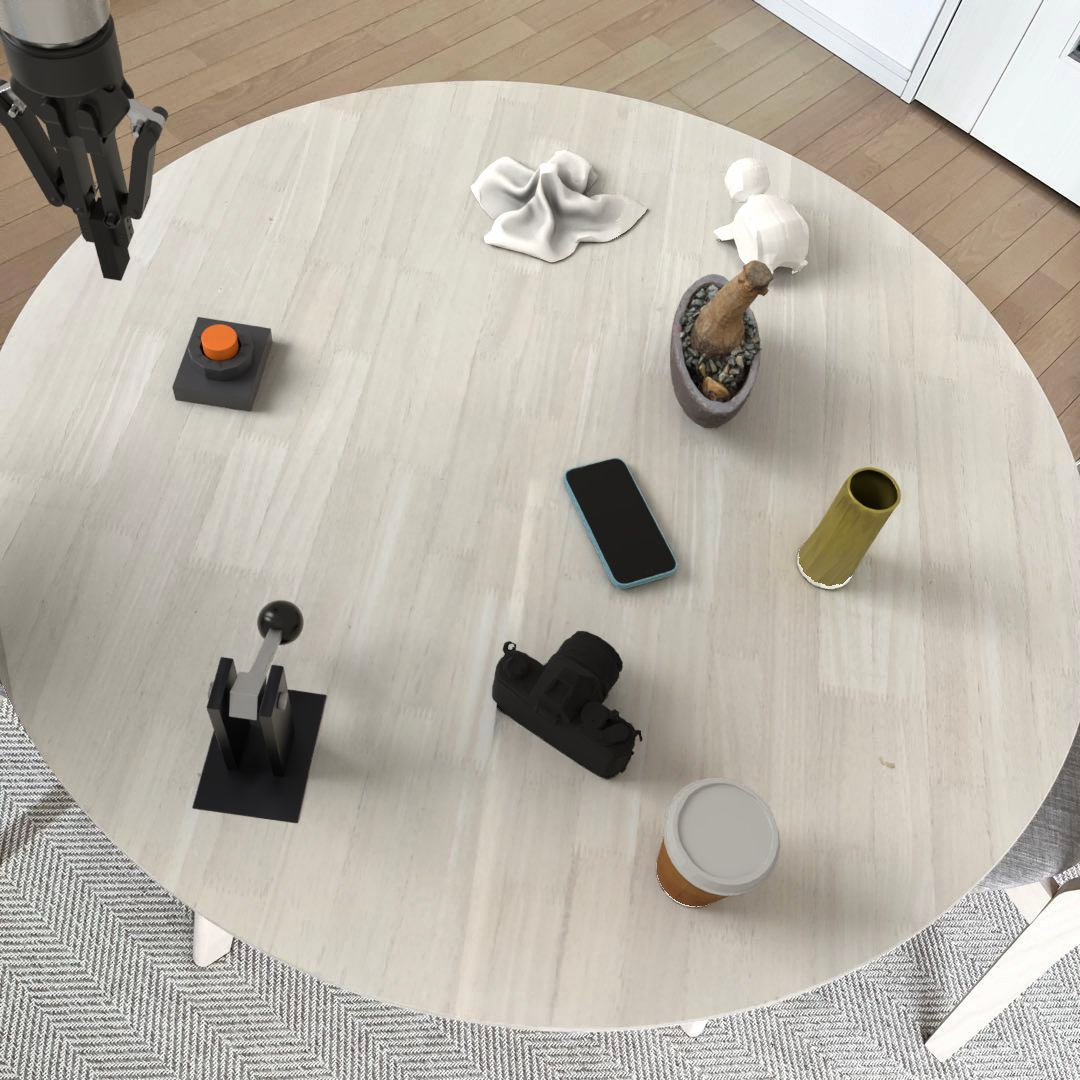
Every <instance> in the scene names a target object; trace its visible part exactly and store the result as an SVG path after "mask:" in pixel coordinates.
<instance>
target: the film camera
mask: <svg viewBox="0 0 1080 1080" xmlns="http://www.w3.org/2000/svg"><path fill="white" fill-rule="evenodd" d="M510 645H513V646H512V647H511V649H510V648H509V646H510ZM502 652H503V656H502V657H501V658H500V659H499V660H498V662H497V664H496V666H495V672H494V679H493V682H492V686H491V687H492V688H491V698H492V700H493V701H494V702H495V703H496V709H498V711H500V712H501V713H502V714H504V715H506V716H508V717H509V718H510V719H512V720H513V721H514V722H516V723H517V724H519V725H520V726H522V727H523V728H525V729H526V730H527V731H529V732H531V733H532V734H533V735H535V736H536V737H537V738H539V739H541V740H542V741H543V742H544V743H546V744H548V745H549V746H551V747H553V748H554V749H555V750H557V751H558V752H560V753H561V754H563V755H564V756H565V757H567V758H569V759H570V760H572V761H573V762H574V763H576V764H578V765H579V766H581V767H582V768H584V769H586V770H587V771H589V772H590V773H592V774H594V775H595V774H596V775H595V776H597V777H599V778H601V779H603V780H609V779H613V778H615V777H616V776H618V775H619V774H622V773H624V772H625V771H626V769H627V767H628V765H629V764H630V762H631V760H632V757H633V756H634V754H635V751H634V749H635V747H636V740H637V739H636V738H637V737H638V739H639V742H643V740H644V738H643V734H642V730H641V729H635V727H634V725H633V724H632V723H631V722H629V721H627V720H626V719H625V718H623V717H622V716H620V712H619V711H618V710H617V709H615V708H613V709H610V708H608V707H607V706H605V705H604V704H603V703H604V702H605V701H606V700H607V698H608V697H609V693H610V691H611V690H612V689H613V687H614V686H615V685H616V683H617V682H618V681H619V679H620V673H621V672H622V671H623V668H624V662H623V660H622V658H621V655H620V654H619V653H618V652H617V650H616V648H615V647H613V646H612V645H611V644H610V643H608V641H606V640H605V639H603V638H601V637H600V636H598V635H596V634H594V633H591V632H589V631H586V630H576V631H575V633H572V635H571V636H570V637H568V638H566V639H565V640H564V641H563V642H562V644H561V645H560V646H559V648H558V649H557V650H556V652H555V653H554V654H552V655H551V657H550V658H549V659H548V661H547V662H546V663H544V664H542V663H541V662H540V661H538V660H537V659H535V658H533V657H532V656H530V655H529V654H528V653H526V652H523V651H520V650H517V643H515V642H513V641H511V640H508V641H505V642H504V643H503V646H502Z"/></svg>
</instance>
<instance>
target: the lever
mask: <svg viewBox="0 0 1080 1080" xmlns="http://www.w3.org/2000/svg"><path fill="white" fill-rule="evenodd" d="M304 625H305V619H304V615H303V613H302V611H301V609H300V608H299V606H297V605H296V604H295V603H294V602H292V601H289V600H286V599H276V600H273V601H270V602H268V603H266V604H265V605H264V606H263V607H262V609H261V610H260V611H259V613H258V616H257V620H256V626H257V631H258V633H259V635H260V637H261V638H262V639H263V641H262V644H261V647H260V648H259V651H258V653H257V655H256V657H255V659H254V662H253V664H252V666H251V668H250V671H249V672H244V671H239V672H238V673H237V675H238V676H237V678H236V680H235V682H234V684H233V686H232V688H231V691H230V702H229V716H230V717H237V718H244V719H251V720H257V718H258V716H259V711H260V707H261V703H262V699H263V696H264V692H265V688H266V684H267V680H268V675H267V674H268V672H269V670H270V668H271V665H272V663H273V660H274V658H275V655H276V653H277V651H278V649H279V646H286V645H290V644H292V643H294V641H296V640H297V639H298V638H299V637H300V636H301V634H302V632H303V631H304Z"/></svg>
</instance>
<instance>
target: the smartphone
mask: <svg viewBox="0 0 1080 1080" xmlns="http://www.w3.org/2000/svg"><path fill="white" fill-rule="evenodd" d="M563 484H564V487H565V489H566V491H567V493H568V495H569V497H570V499H571V501H572V503H573V505H574V508H575V509H576V511H577V513H578V515H579V517H580V520H581V522H582V524H583V527H584V528H585V530H586V532H587V534H588V536H589V539H590V541H591V543H592V545H593V547H594V549H595V552H596V553H597V555H598V557H599V559H600V562H601V564H602V565H603V567H604V570H605V572H606V574H607V576H608V578H609V581H610V582H611V584H612V585H613V586H614V587H615V588H617V589H619V590H628V589H630V588H634V587H637V586H641V585H643V584H647V583H650V582H653V581H657V580H658V581H659V580H660V579H664V578H668V577H671V576H673V575H674V574H675V573H676V571H677V568H678V561H677V558H676V556H675V554H674V552H673V550H672V549H671V546H670V544H669V543H668V541H667V539H666V537H665V535H664V533H663V531H662V530H661V528H660V526H659V524H658V522H657V520H656V518H655V515H654V514H653V512H652V510H651V508H650V507H649V505H648V503H647V500H646V499H645V497H644V495H643V492H642V491H641V489H640V487H639V485H638V483H637V481H636V479H635V477H634V476H633V474H632V472H631V470H630V468H629V465H628V464H627V463H626V460H625V461H624V459H622V458H620V457H610V458H607V459H603V460H599V461H595V462H592V463H588V464H584V465H580V466H576V467H572V468H569V469H567V470H566V471H565V472H564V475H563Z"/></svg>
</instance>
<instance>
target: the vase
mask: <svg viewBox="0 0 1080 1080" xmlns="http://www.w3.org/2000/svg"><path fill="white" fill-rule="evenodd" d="M901 500H902V493H901V489H900V486H899V484H898V482H897V481H896V479H895V477H893V476H892V475H890V474H889V473H888V472H887V471H885V470H883V469H880V468H878V467H872V466H866V467H865V466H864V467H861V468H858V469H856V470H854V471H853V472H852V473H851V474H849V476H848V477H847V478H846V480H845V481H844V482H843V484H842V485H841V487H840V489H839V491H838V493H837V494H836V495H835V497H834V499H833V501H832V502H831V504H830V505H829V507H828V509H827V511H826V512H825V514H824V515H823V516H822V518H821V520H820V521H819V523H818V525H817V526H816V528H815V529H814V530H813V532H812V533H811V534H810V536H809V537H808V538H807V540H806V541H805V542H804V543H803V544H804V545H803V544H802V545H803V546H802V545H801V546H802V547H801V546H800V547H801V548H800V547H799V549H800V551H799V557H800V558H799V564H800V565H801V567H802V568H803V572H804V573H805V574H806V575H807V576H809V577H811V579H812V580H814V582H818V583H822V584H825V585H826V586H832V585H836V584H839V585H840V584H843V583H844V582H845V581H846V580H847V579H848V578H849V577H851V576H852V575H853V576H854V574H855V572H856V570H857V568H858V566H859V565H860V564H861V562H862V560H863V559H864V557H865V555H866V554H867V552H868V551H869V549H870V548H871V546H872V544H873V543H874V542H875V540H876V539H877V537H878V535H879V534H880V532H881V531H882V529H883V528H884V526H885V524H886V523H887V522H888V520H889V519H890V517H891V516H892V514H893V513H894V511H895V510H896V509H897V507H898V506H899V505H900V503H901Z"/></svg>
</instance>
